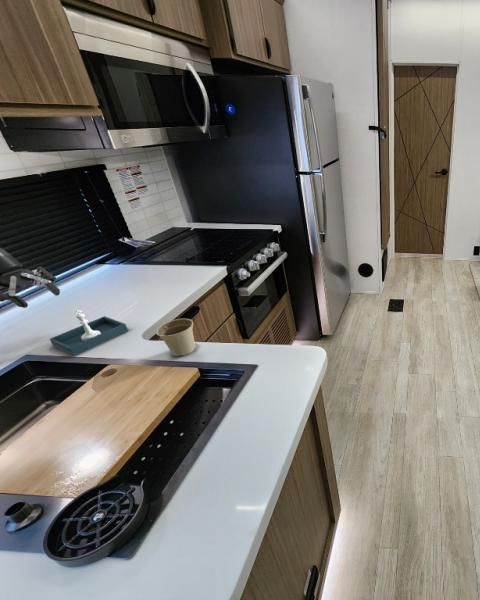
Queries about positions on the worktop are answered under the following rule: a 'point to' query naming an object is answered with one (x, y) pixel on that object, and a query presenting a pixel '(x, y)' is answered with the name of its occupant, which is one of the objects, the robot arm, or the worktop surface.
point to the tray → (76, 345)
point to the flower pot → (178, 336)
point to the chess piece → (86, 327)
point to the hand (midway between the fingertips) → (43, 299)
